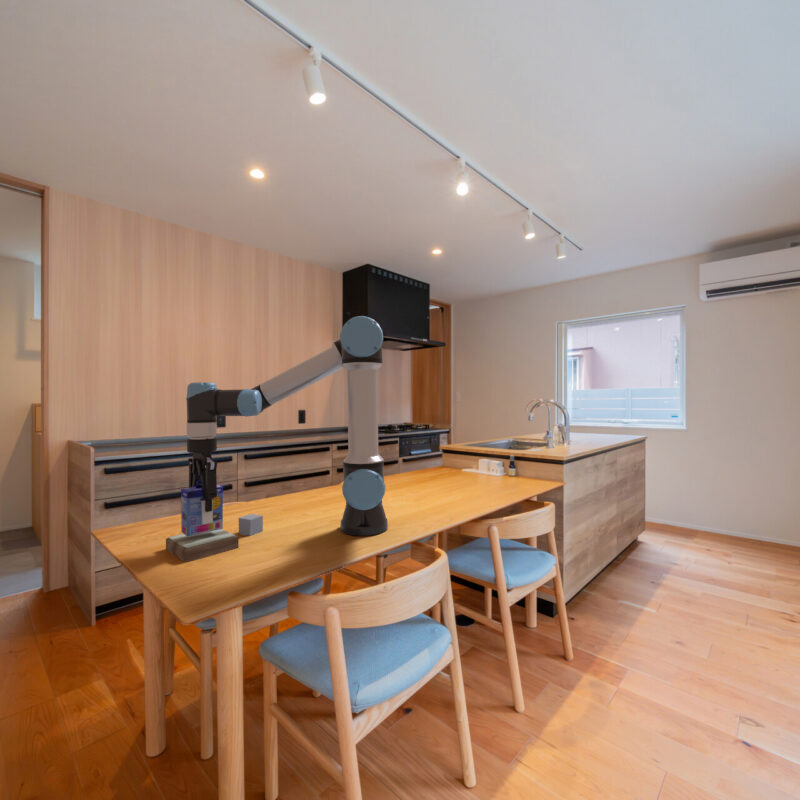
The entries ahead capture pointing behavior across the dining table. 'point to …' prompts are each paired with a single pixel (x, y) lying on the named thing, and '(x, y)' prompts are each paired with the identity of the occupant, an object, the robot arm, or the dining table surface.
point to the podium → (201, 544)
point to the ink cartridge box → (199, 511)
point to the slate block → (250, 524)
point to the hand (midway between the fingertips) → (202, 520)
